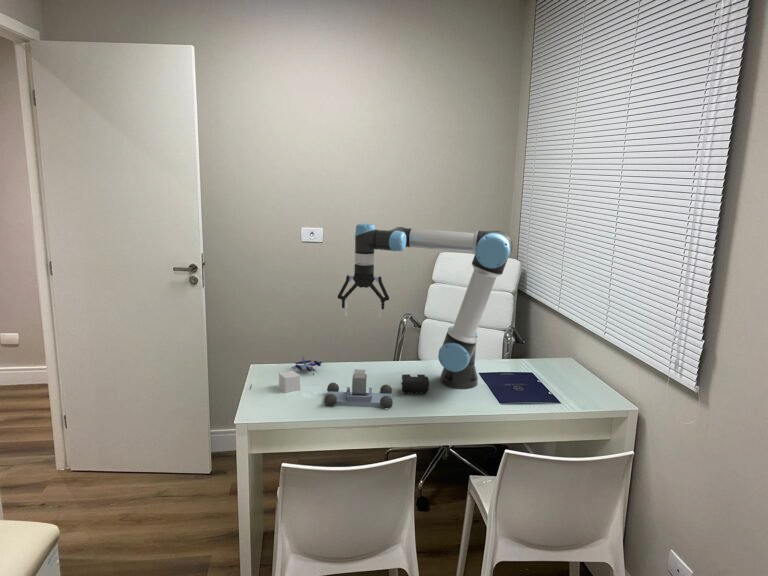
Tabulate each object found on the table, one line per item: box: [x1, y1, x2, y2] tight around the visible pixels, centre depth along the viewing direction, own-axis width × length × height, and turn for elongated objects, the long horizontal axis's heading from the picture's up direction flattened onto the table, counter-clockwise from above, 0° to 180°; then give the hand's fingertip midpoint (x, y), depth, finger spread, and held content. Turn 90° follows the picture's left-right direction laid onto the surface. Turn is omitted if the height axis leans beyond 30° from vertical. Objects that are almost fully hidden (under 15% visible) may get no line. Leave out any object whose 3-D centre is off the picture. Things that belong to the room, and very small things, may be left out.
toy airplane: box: [291, 355, 323, 376], centre depth 239 cm, size 13×14×4 cm
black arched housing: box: [400, 374, 430, 394], centre depth 221 cm, size 10×7×7 cm
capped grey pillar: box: [351, 368, 368, 396], centre depth 211 cm, size 5×5×10 cm
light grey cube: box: [278, 370, 301, 394], centre depth 220 cm, size 6×6×6 cm
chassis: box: [323, 382, 393, 409], centre depth 212 cm, size 24×12×4 cm, turn 90°
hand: (362, 316), depth 227 cm, fingers open, 13 cm apart
